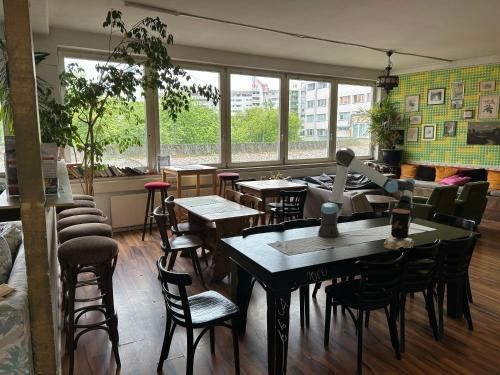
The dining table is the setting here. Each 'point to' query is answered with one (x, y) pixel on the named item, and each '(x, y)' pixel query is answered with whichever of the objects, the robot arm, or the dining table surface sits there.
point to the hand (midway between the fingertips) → (399, 225)
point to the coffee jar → (400, 223)
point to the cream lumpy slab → (398, 243)
